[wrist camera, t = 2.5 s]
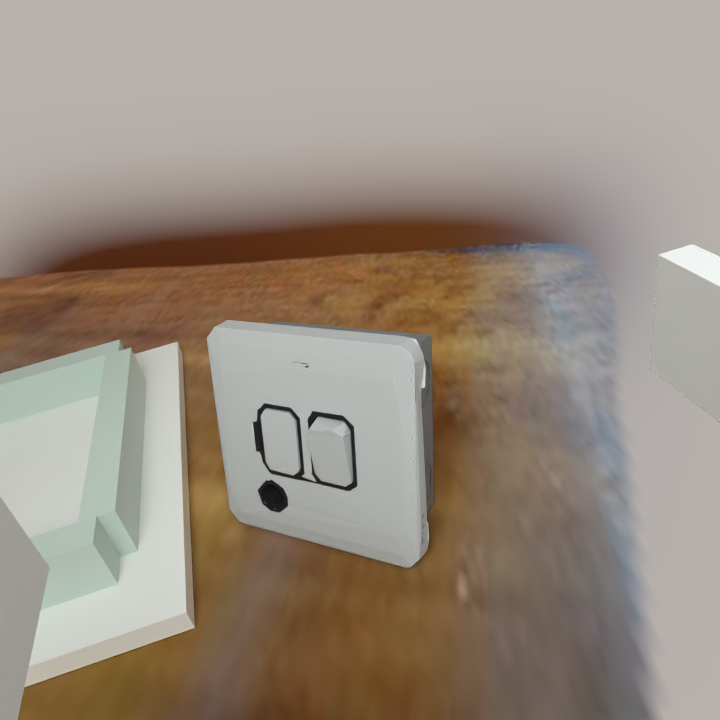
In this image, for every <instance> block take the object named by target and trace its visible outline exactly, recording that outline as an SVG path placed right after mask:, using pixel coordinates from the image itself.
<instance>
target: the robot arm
mask: <svg viewBox="0 0 720 720" xmlns="http://www.w3.org/2000/svg"><path fill="white" fill-rule="evenodd" d="M650 370H651V371H653V372H654V373H655V374H657V375H658V376H659V377H661V378H662V379H663V380H665V381H666V382H667V383H669V384H670V385H671V386H672V387H674V388H675V389H677V390H678V391H679V392H680V393H682V394H683V395H684V396H686V397H687V398H688V399H690V400H691V401H692V402H693V403H695V404H696V405H697V406H699V407H700V408H701V409H703V410H704V411H705V412H707V413H708V414H709V415H711V416H712V417H713V418H714V419H716V420H717V421H718V422H720V257H719V256H717V255H715V254H712V253H710V252H708V251H706V250H704V249H702V248H699V247H697V246H695V245H693V244H692V245H688V246H685V247H682V248H679V249H675V250H672V251H669V252H665V253H662V254H659V255H658V264H657V278H656V290H655V304H654V318H653V330H652V344H651V357H650ZM49 568H50V567H49V566H48V564H47V563H46V562H45V560H44V559H43V557H42V556H41V554H40V553H39V552H38V550H37V549H36V547H35V546H34V544H33V543H32V541H31V540H30V539H29V537H28V536H27V534H26V533H25V531H24V530H23V529H22V527H21V526H20V524H19V523H18V521H17V520H16V518H15V517H14V516H13V514H12V513H11V511H10V510H9V508H8V507H7V506H6V504H5V503H4V501H3V500H2V498H1V497H0V720H17V719H18V715H19V710H20V705H21V701H22V696H23V691H24V686H25V682H26V677H27V672H28V667H29V663H30V658H31V653H32V649H33V644H34V639H35V634H36V630H37V625H38V620H39V615H40V611H41V606H42V601H43V597H44V592H45V587H46V582H47V578H48V573H49Z"/></svg>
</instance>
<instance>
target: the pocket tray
mask: <svg viewBox="0 0 720 720" xmlns="http://www.w3.org/2000/svg"><path fill="white" fill-rule="evenodd" d="M0 497H1V498H2V500H3V501H4V503H5V504H6V506H7V507H8V508H9V510H10V511H11V513H12V514H13V516H14V517H15V518H16V520H17V521H18V523H19V524H20V526H21V527H22V529H23V530H24V531H25V533H26V534H27V536H28V537H29V539H30V540H31V541H32V543H33V544H34V546H35V547H36V549H37V550H38V552H39V553H40V554H41V556H42V557H43V559H44V560H45V562H46V563H47V564H48V566H49V567H50V568H49V573H48V578H47V582H46V587H45V592H44V597H43V601H42V606H41V611H40V615H39V620H38V625H37V630H36V634H35V639H34V644H33V649H32V653H31V658H30V663H29V667H28V672H27V677H26V682H25V686H24V687H27V686H30V685H33V684H35V683H38V682H41V681H44V680H47V679H50V678H53V677H56V676H58V675H61V674H64V673H67V672H70V671H73V670H76V669H78V668H81V667H84V666H87V665H90V664H93V663H96V662H99V661H101V660H104V659H107V658H110V657H113V656H116V655H119V654H121V653H124V652H127V651H130V650H133V649H136V648H139V647H142V646H144V645H147V644H150V643H153V642H156V641H159V640H162V639H164V638H167V637H170V636H173V635H176V634H179V633H182V632H185V631H187V630H190V629H193V628H195V619H194V597H193V575H192V553H191V531H190V509H189V486H188V464H187V442H186V420H185V398H184V375H183V354H182V351H181V349H180V347H179V344H178V342H175V343H172V344H168V345H165V346H161V347H158V348H154V349H151V350H147V351H144V352H140V353H137V354H134V352H133V350H132V348H127V349H124V347H123V344H122V342H121V340H116V341H113V342H109V343H106V344H102V345H98V346H95V347H91V348H88V349H84V350H81V351H77V352H74V353H70V354H67V355H63V356H60V357H56V358H53V359H49V360H46V361H42V362H39V363H35V364H32V365H28V366H25V367H21V368H18V369H14V370H11V371H7V372H4V373H0Z"/></svg>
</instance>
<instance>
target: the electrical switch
mask: <svg viewBox="0 0 720 720" xmlns="http://www.w3.org/2000/svg"><path fill="white" fill-rule="evenodd" d="M429 338H430V335H427V334H415V333H404V332H393V331H382V330H371V329H359V328H348V327H337V326H326V325H314V324H303V323H292V322H281V321H274V322H272V323H270V324H265V323H255V322H244V321H233V320H226V321H225V322H223V323H221V324H219V325H217V326H215V327H214V328H213V330H212V331H211V333H210V334H209V336H208V337H207V344H208V352H209V359H210V367H211V374H212V381H213V389H214V396H215V404H216V411H217V418H218V426H219V433H220V441H221V448H222V455H223V463H224V470H225V478H226V485H227V492H228V500H229V507H230V510H231V511H232V513H233V514H234V515H235V517H236V518H237V519H238V520H239V521H240V522H242V523H244V524H247V525H251V526H255V527H258V528H262V529H266V530H269V531H273V532H277V533H280V534H284V535H288V536H291V537H295V538H298V539H302V540H306V541H309V542H313V543H317V544H320V545H324V546H328V547H331V548H335V549H339V550H342V551H346V552H350V553H353V554H357V555H361V556H364V557H368V558H372V559H375V560H379V561H383V562H386V563H390V564H394V565H397V566H401V567H405V568H408V567H411V566H413V565H414V564H415V563H416V562H417V561H418V560H420V558H421V557H422V556H423V555H424V554H425V553H426V551H427V548H428V542H429V530H428V522H427V511H428V510H429V509H430V507H431V506H432V504H433V503H434V459H433V398H432V338H431V339H429ZM428 339H429V340H428ZM426 340H427V341H426ZM425 341H426V342H425ZM423 342H424V343H423Z"/></svg>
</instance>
